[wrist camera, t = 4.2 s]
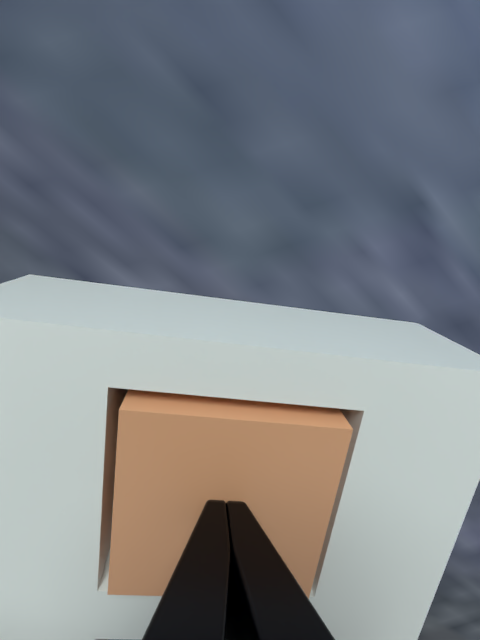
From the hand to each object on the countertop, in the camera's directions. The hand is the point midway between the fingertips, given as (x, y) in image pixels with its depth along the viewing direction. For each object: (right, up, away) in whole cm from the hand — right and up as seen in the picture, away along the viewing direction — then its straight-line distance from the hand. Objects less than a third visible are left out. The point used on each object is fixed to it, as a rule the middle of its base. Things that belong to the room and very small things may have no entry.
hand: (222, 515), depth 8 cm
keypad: (-1, -5, +6) cm, 8 cm away
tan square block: (0, +1, +3) cm, 3 cm away
